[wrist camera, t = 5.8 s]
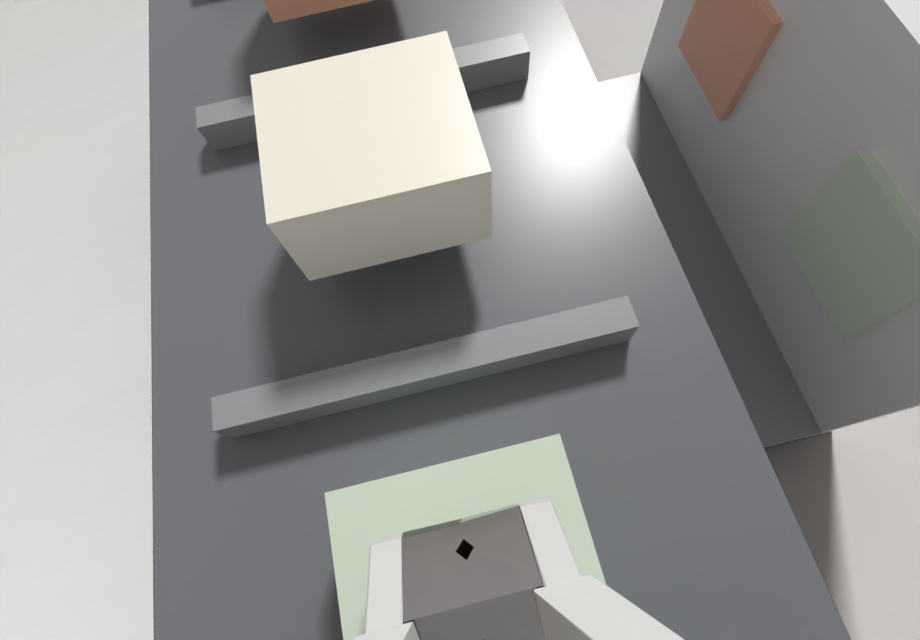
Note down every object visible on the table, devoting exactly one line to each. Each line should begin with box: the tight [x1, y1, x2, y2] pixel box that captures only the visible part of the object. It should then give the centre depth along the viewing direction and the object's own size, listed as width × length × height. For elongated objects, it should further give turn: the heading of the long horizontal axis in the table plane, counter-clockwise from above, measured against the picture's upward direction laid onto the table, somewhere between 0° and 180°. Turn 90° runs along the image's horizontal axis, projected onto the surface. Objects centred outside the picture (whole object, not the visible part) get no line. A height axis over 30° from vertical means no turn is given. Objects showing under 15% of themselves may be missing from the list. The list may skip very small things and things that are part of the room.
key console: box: [149, 0, 920, 640], centre depth 16 cm, size 20×25×10 cm
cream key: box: [250, 31, 492, 281], centre depth 12 cm, size 4×4×2 cm
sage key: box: [324, 434, 606, 640], centre depth 10 cm, size 4×4×2 cm
